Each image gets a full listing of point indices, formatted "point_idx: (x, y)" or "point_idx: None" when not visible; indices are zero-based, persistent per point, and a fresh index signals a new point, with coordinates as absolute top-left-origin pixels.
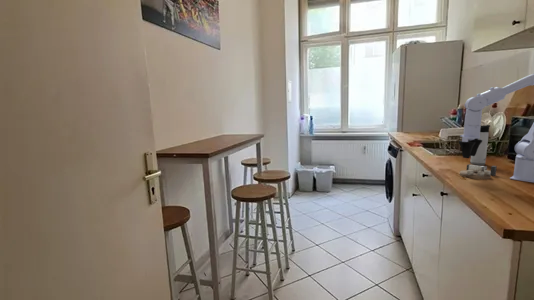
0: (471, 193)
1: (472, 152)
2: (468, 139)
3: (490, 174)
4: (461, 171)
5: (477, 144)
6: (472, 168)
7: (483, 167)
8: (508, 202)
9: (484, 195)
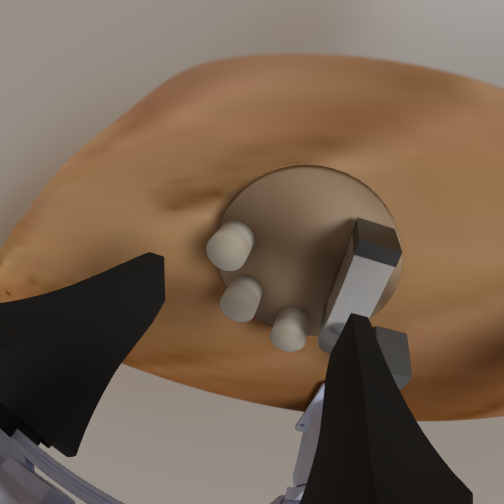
0: (29, 240)
1: (336, 371)
2: (12, 451)
3: (375, 331)
4: (315, 182)
5: (304, 495)
6: (344, 266)
7: (319, 335)
8: None
9: (40, 269)
